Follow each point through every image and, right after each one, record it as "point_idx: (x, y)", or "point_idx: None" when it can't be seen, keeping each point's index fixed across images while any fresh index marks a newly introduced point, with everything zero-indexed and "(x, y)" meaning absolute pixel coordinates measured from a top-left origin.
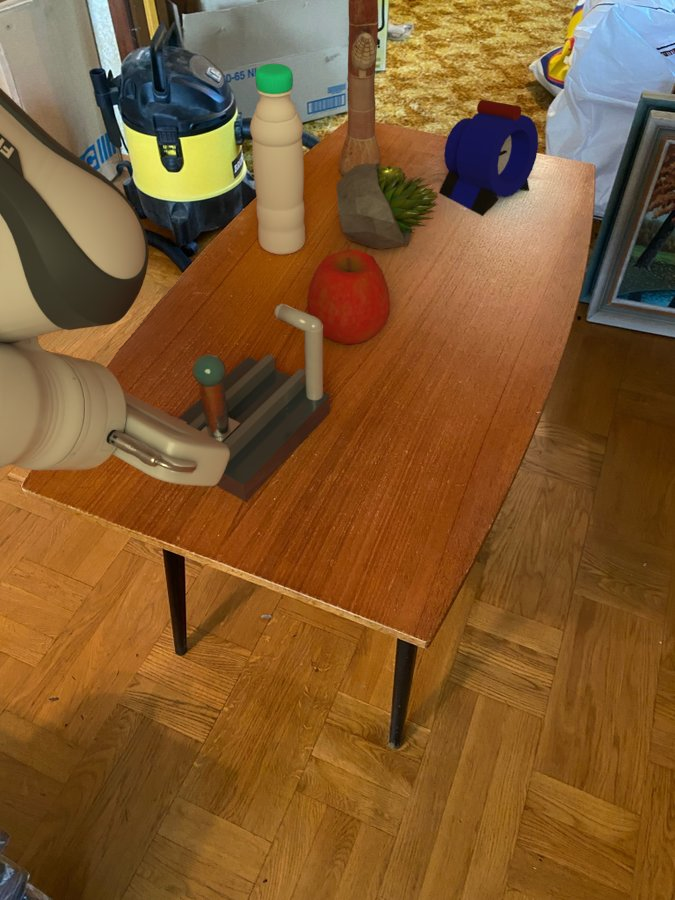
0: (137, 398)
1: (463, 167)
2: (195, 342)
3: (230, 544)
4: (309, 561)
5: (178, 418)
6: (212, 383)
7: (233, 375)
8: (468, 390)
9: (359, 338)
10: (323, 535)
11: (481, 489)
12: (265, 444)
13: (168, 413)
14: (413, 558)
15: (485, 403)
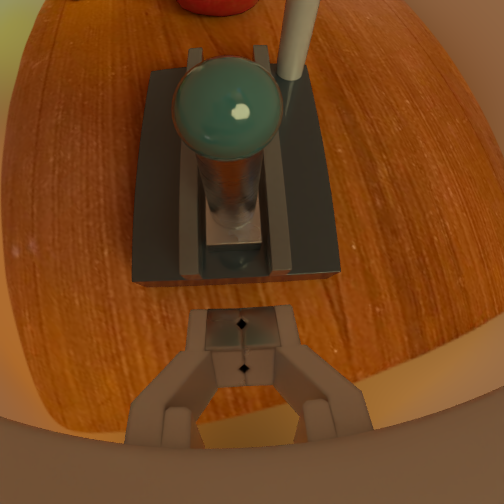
0: (204, 485)
1: None
2: (64, 104)
3: (359, 350)
4: (445, 298)
5: (264, 313)
6: (270, 140)
7: (154, 104)
8: (381, 23)
9: (254, 1)
10: (435, 256)
11: (476, 118)
12: (305, 180)
13: (222, 318)
14: (498, 222)
15: (403, 32)
